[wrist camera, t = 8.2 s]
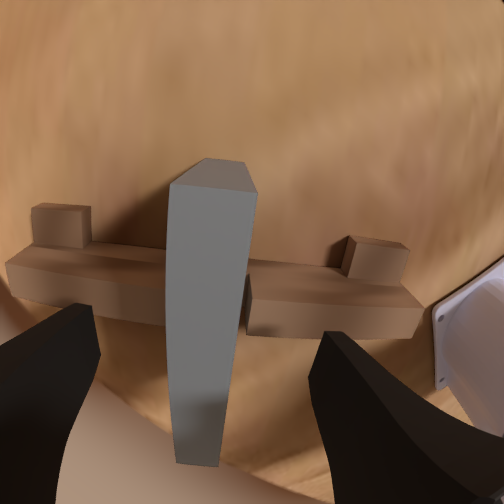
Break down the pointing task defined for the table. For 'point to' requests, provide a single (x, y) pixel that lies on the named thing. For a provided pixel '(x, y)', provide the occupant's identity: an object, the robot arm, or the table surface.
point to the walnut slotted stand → (255, 288)
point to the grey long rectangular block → (205, 299)
